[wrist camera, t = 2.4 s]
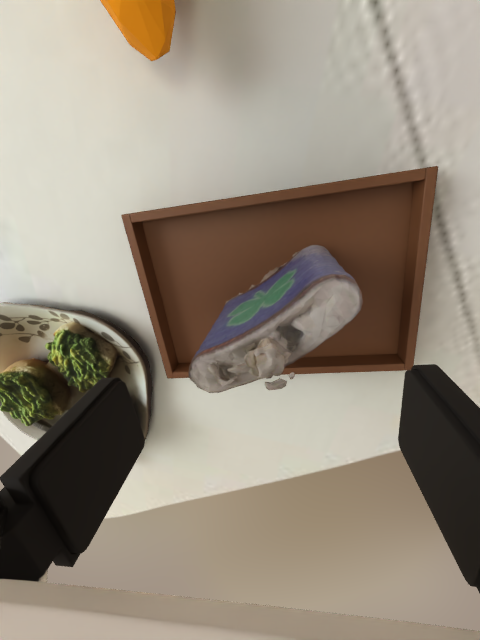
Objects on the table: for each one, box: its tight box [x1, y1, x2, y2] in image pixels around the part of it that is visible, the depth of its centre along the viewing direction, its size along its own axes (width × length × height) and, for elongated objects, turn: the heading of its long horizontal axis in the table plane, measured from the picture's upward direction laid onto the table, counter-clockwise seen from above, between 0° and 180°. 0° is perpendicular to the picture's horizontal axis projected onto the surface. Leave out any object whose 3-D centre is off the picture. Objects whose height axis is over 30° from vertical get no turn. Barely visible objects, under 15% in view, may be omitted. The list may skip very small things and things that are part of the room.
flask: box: [188, 245, 363, 393], centre depth 16 cm, size 9×3×11 cm, turn 127°
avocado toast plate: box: [0, 302, 152, 440], centre depth 25 cm, size 19×18×5 cm
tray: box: [121, 166, 438, 378], centre depth 20 cm, size 19×13×2 cm
